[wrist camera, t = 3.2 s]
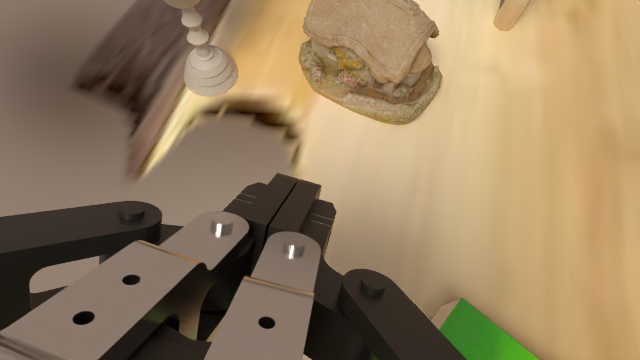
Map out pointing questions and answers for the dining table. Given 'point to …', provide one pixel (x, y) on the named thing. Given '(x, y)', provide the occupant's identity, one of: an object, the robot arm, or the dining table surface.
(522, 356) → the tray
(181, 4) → the chalice
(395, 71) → the ceramic model
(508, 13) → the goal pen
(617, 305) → the dining table surface
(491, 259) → the dining table surface
